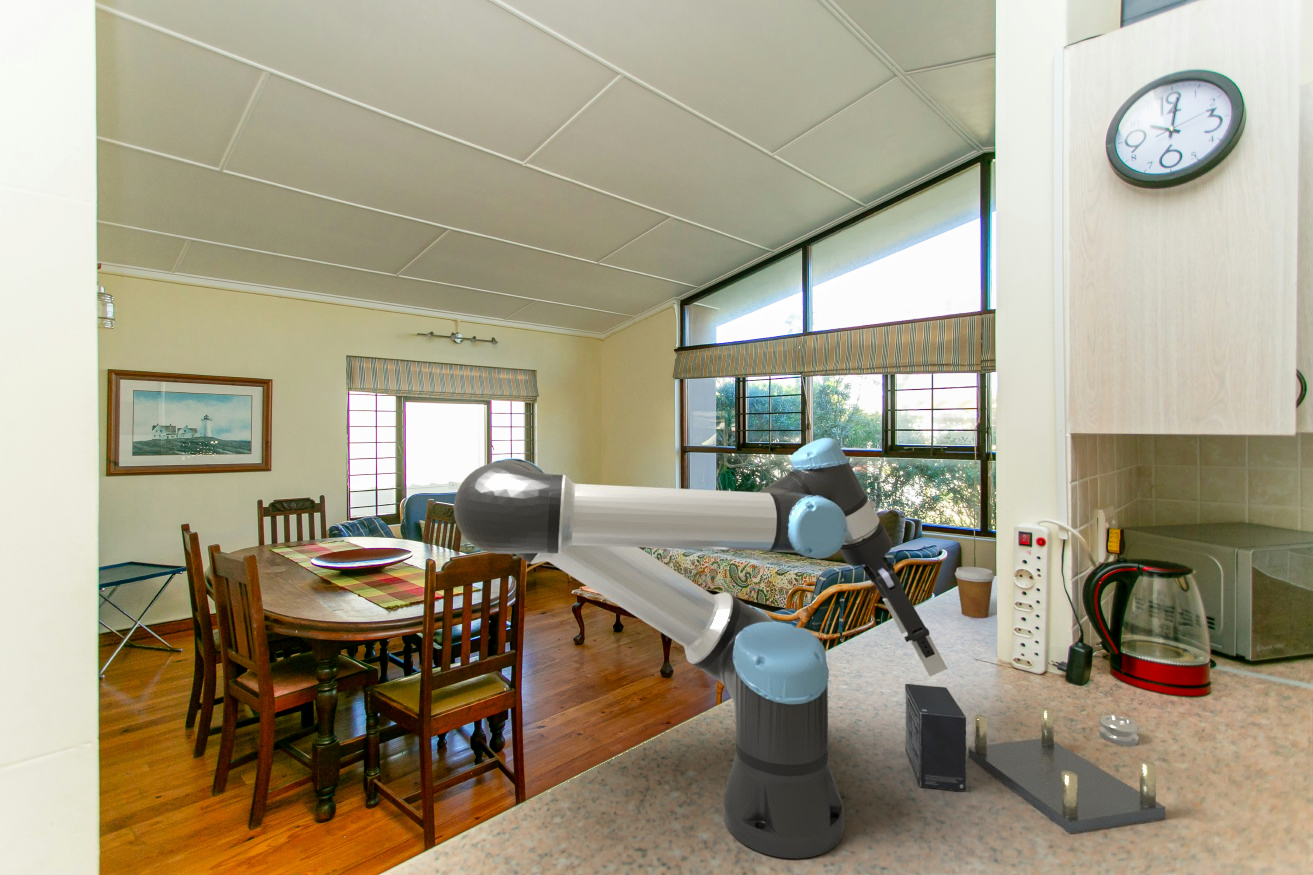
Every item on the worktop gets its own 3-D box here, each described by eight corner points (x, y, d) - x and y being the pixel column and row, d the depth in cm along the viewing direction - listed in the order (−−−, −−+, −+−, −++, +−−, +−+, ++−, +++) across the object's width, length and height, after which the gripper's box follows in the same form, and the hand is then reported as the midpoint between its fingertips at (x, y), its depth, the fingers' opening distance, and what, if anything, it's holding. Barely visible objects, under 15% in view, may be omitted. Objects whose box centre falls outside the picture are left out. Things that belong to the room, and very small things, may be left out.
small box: (970, 793, 82) (969, 716, 82) (919, 788, 83) (918, 712, 83) (949, 753, 93) (948, 685, 93) (904, 749, 94) (902, 682, 94)
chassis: (1070, 833, 74) (1069, 780, 74) (968, 757, 91) (967, 714, 91) (1165, 818, 76) (1164, 767, 76) (1048, 746, 94) (1047, 705, 94)
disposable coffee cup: (1002, 616, 161) (1002, 571, 161) (981, 622, 156) (980, 575, 156) (968, 607, 169) (968, 564, 169) (947, 613, 164) (947, 569, 164)
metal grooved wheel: (1093, 737, 97) (1131, 750, 93) (1093, 718, 97) (1131, 730, 93) (1106, 728, 100) (1144, 740, 95) (1106, 710, 100) (1143, 721, 95)
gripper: (905, 546, 80) (979, 681, 81) (861, 501, 105) (918, 605, 106) (854, 571, 81) (927, 703, 83) (822, 521, 106) (879, 624, 107)
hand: (922, 648), depth 94 cm, fingers open, 13 cm apart
